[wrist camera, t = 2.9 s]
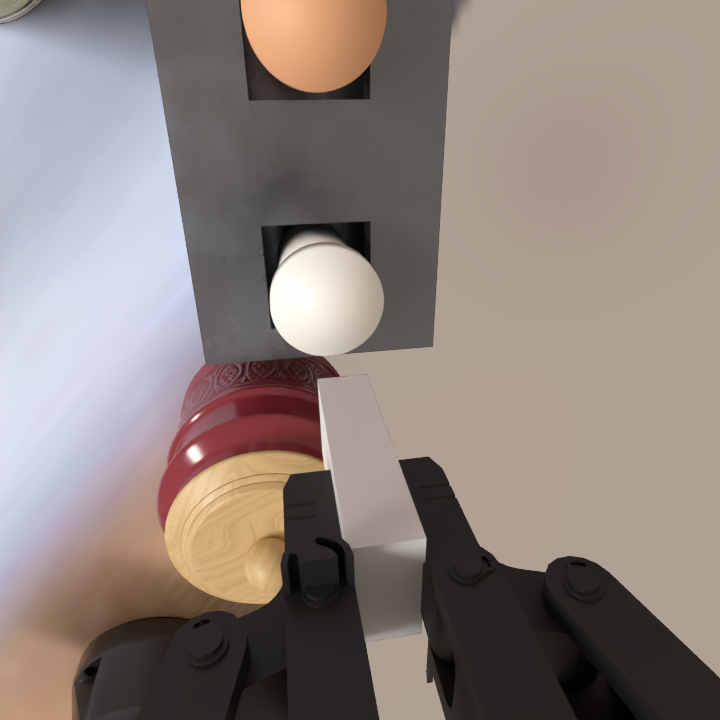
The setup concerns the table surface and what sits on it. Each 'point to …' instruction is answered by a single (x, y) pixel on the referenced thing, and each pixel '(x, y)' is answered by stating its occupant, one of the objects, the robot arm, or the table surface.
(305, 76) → the tan round-topped peg
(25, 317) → the table surface
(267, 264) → the block
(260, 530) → the canister
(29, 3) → the coffee can
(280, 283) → the white knob
